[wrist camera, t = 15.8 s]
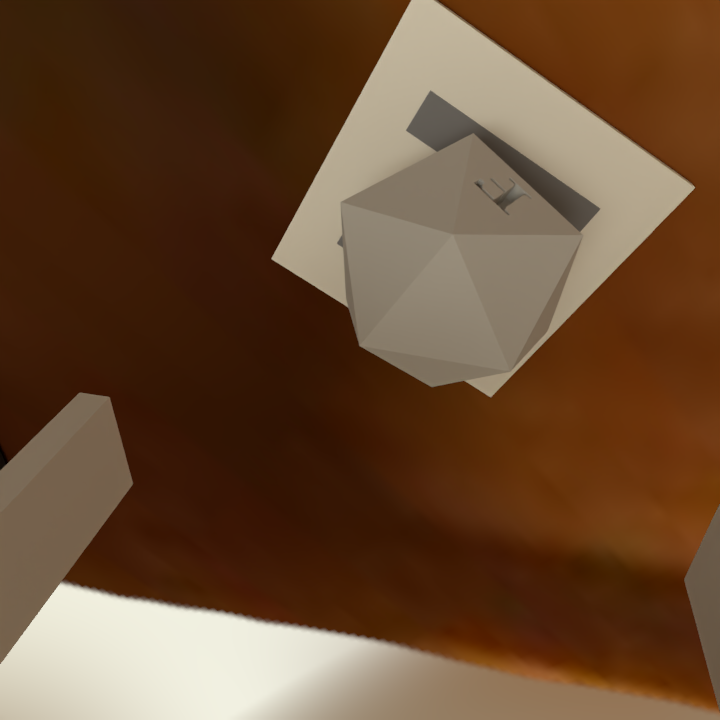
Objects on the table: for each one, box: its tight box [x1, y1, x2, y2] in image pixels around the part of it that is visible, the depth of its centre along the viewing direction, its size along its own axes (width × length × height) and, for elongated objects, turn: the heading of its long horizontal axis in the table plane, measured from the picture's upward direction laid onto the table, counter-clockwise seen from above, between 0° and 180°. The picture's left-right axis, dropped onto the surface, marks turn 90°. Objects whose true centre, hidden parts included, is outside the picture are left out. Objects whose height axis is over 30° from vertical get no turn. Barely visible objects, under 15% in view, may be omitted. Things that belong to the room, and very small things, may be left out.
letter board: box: [271, 0, 695, 397], centre depth 27 cm, size 13×13×1 cm
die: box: [340, 133, 583, 387], centre depth 23 cm, size 8×9×10 cm
